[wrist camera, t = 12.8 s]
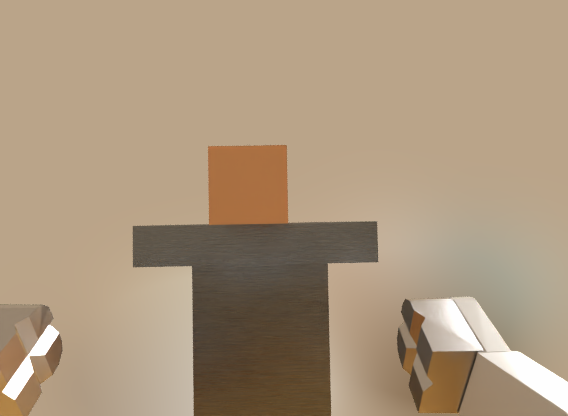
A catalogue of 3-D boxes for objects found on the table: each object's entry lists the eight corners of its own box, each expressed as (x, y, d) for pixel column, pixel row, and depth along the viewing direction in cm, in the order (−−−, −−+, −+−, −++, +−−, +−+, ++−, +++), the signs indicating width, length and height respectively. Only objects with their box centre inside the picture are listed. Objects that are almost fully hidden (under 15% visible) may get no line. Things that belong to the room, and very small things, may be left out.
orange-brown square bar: (252, 223, 39) (251, 193, 39) (282, 222, 39) (281, 192, 39) (208, 224, 15) (208, 146, 15) (288, 223, 15) (286, 145, 15)
